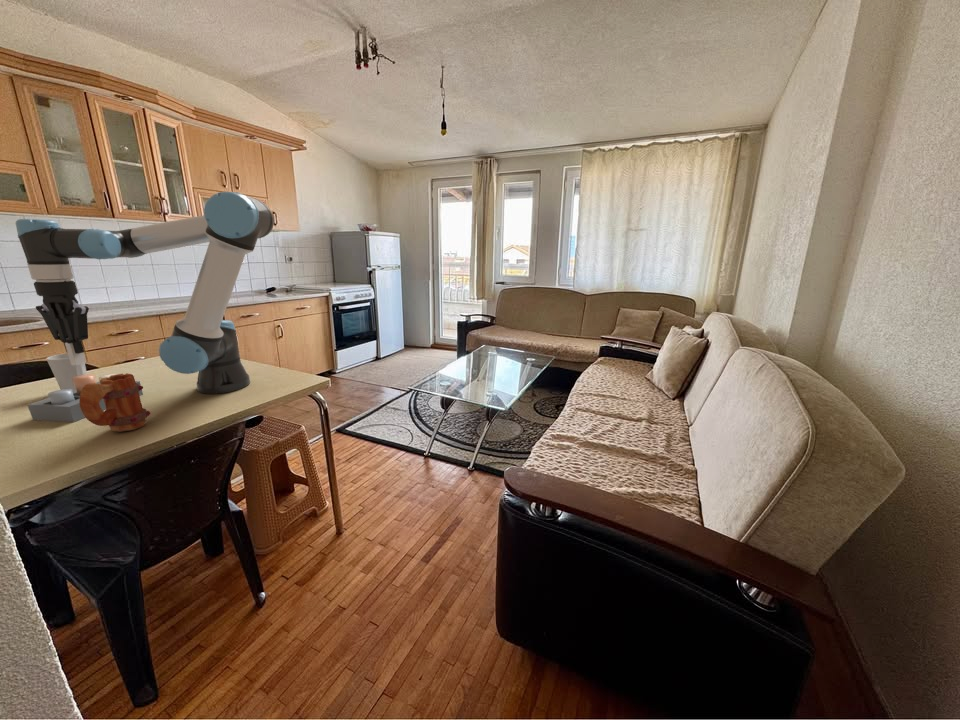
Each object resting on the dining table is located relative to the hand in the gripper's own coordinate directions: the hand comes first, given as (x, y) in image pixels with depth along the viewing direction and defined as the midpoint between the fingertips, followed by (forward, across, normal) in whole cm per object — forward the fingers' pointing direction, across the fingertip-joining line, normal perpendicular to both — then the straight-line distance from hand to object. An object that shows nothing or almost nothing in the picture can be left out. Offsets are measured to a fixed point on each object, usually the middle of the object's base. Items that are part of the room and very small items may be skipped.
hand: (79, 363), depth 106 cm
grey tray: (+13, 0, 0) cm, 13 cm away
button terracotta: (+9, 0, 0) cm, 9 cm away
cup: (+14, +17, -10) cm, 24 cm away
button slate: (+11, 0, +6) cm, 13 cm away
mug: (+13, -24, +14) cm, 31 cm away
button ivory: (+11, 0, -6) cm, 13 cm away
